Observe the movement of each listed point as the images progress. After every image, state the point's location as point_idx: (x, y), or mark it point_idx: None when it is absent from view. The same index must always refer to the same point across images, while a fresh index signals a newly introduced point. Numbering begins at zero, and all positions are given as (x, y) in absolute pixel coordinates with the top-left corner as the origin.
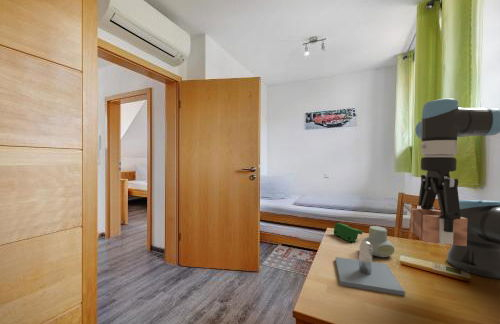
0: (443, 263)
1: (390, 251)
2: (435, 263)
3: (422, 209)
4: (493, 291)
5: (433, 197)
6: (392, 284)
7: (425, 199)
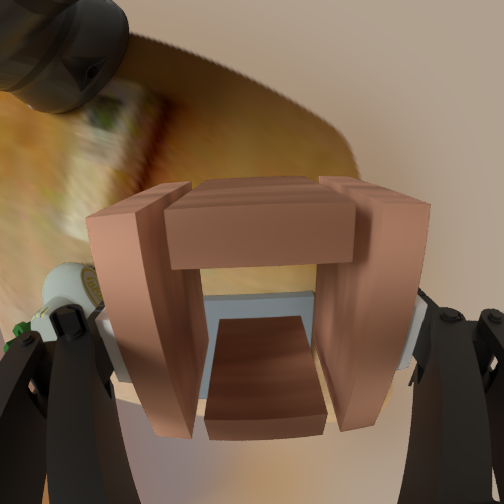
0: (72, 126)
1: (92, 278)
2: (79, 148)
3: (151, 396)
4: (206, 61)
5: (104, 450)
6: (289, 314)
7: (126, 458)
